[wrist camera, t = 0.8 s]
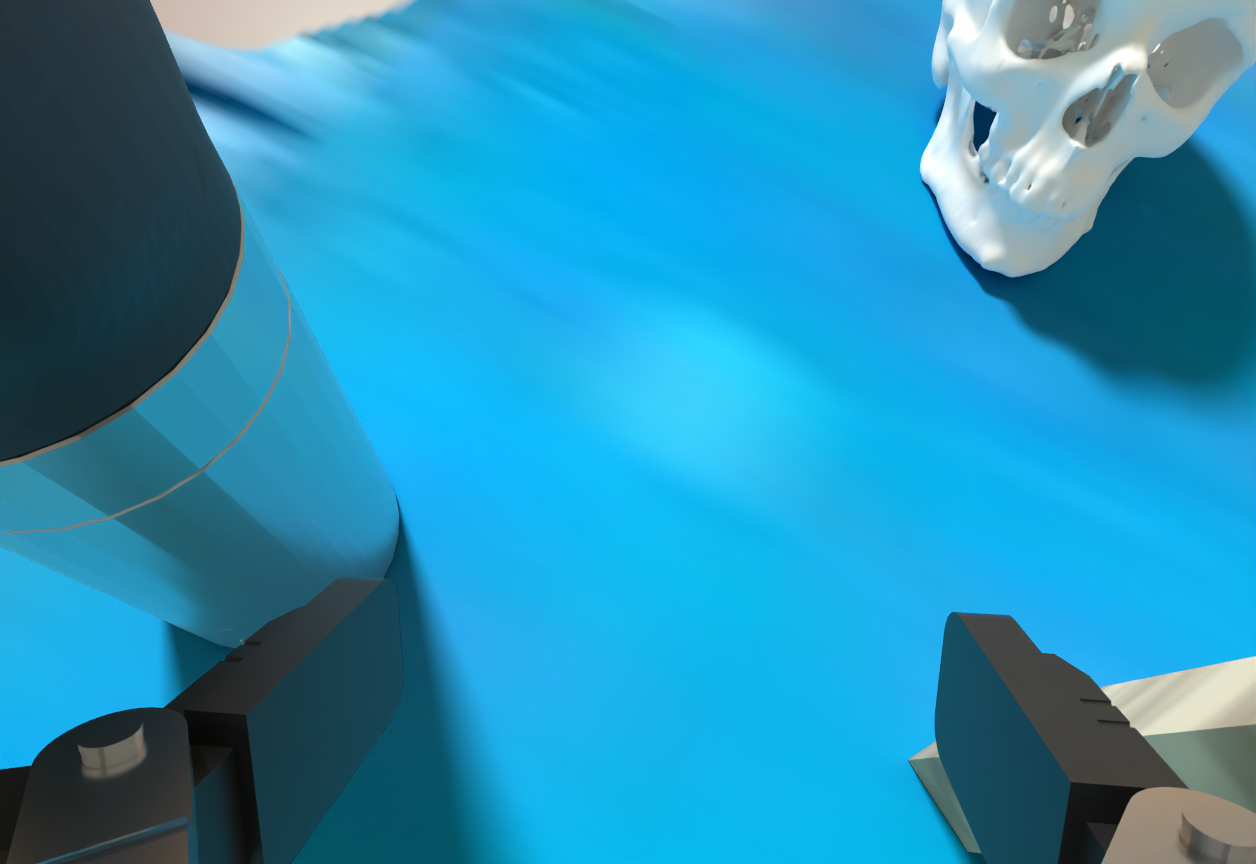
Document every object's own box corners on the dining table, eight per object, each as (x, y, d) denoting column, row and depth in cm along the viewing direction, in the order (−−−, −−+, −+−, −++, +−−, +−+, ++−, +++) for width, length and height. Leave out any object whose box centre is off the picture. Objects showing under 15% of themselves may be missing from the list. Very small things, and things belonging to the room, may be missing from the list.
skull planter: (861, 244, 37) (1098, -271, 26) (865, 146, 53) (1011, -197, 42) (1139, 338, 36) (1512, -154, 25) (1057, 210, 52) (1261, -124, 41)
